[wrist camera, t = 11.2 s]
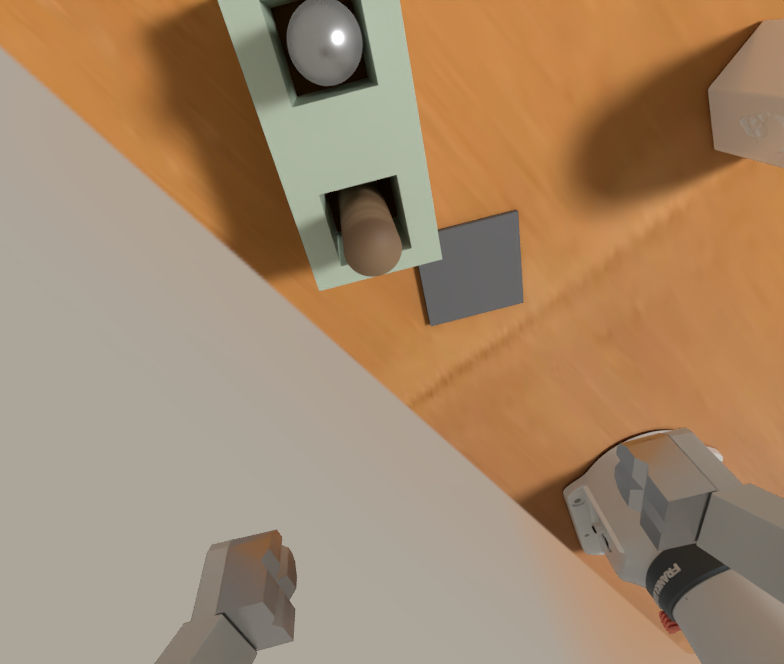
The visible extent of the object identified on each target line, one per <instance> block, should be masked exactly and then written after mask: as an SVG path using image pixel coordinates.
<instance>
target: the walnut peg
mask: <svg viewBox="0 0 784 664" xmlns="http://www.w3.org/2000/svg"><path fill="white" fill-rule="evenodd" d="M338 201H339V211H340V220H341V230H342V239H343V249H344V256H345V259H346V262H347V263H348V265H349V266H350V267H351V268H352V269H353V270H354V271H355V272H357V273H359V274H361V275H364V276H369V277H375V276H380V275H383V274H386V273H387V272H389V271H391V270H392V269H393V268H394V267H395V266H396V265H397V263H398V261H399V260H400V257H401V254H402V243H401V240H400V237H399V234H398V232H397V229H396V227H395V224H394V222H393V219H392V217H391V214H390V212H389V209H388V207H387V204H386V202H385V199H384V197H383V194H382V192H381V189H380V187H379V185H378V183H377V181H376V180H375V181H371V182H367V183H363V184H359V185H356V186H352V187H348V188H344V189H340V190H338Z"/></svg>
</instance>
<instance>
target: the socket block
mask: <svg viewBox="0 0 784 664" xmlns="http://www.w3.org/2000/svg"><path fill="white" fill-rule="evenodd" d="M295 1H299V0H218V3H219V6H220V9H221V12H222V15H223V17H224V20H225V23H226V26H227V29H228V32H229V35H230V37H231V40H232V43H233V46H234V49H235V52H236V54H237V57H238V60H239V63H240V66H241V69H242V72H243V74H244V77H245V80H246V83H247V86H248V89H249V92H250V94H251V97H252V100H253V103H254V106H255V109H256V112H257V114H258V117H259V120H260V123H261V126H262V129H263V131H264V134H265V137H266V140H267V143H268V146H269V149H270V151H271V154H272V157H273V160H274V163H275V166H276V169H277V171H278V174H279V177H280V180H281V183H282V186H283V189H284V191H285V194H286V197H287V200H288V203H289V206H290V208H291V211H292V214H293V217H294V220H295V223H296V226H297V228H298V231H299V234H300V237H301V240H302V243H303V246H304V248H305V251H306V254H307V257H308V260H309V263H310V266H311V268H312V271H313V274H314V277H315V280H316V283H317V285H318V288H319V291H321V290H325V289H329V288H333V287H337V286H341V285H345V284H349V283H352V282H356V281H360V280H364V279H368V278H372V277H369V276H364V275H361V274H359V273H357V272H355V271H354V270H353V269H352V268H351V267H350V266H349V265H348V263H347V262H346V259H345V256H344V249H343V239H342V231H341V232H338V231H337V228H336V224H335V221H334V218H333V214H332V211H331V208H330V204H329V201H328V198H327V194H326V193H329V192H332V191H336V190H340V189H344V188H348V187H352V186H356V185H359V184H363V183H367V182H371V181H375V180H379V179H383V178H386V177H389V178H390V182H391V187H392V192H393V196H394V201H395V206H396V210H397V215H398V217H395V218H392V219H393V222H394V224H395V227H396V229H397V232H398V234H399V237H400V240H401V243H402V254H401V257H400V260H399V261H398V263H397V265H396V266H395V267H394V268H393V269H392V270H391V271H389V272H387V273H391V272H395V271H399V270H403V269H407V268H411V267H415V266H418V265H422V264H426V263H430V262H434V261H438V260H442V254H441V247H440V241H439V235H438V229H437V223H436V217H435V211H434V205H433V199H432V193H431V187H430V181H429V175H428V169H427V163H426V157H425V151H424V145H423V139H422V133H421V127H420V121H419V114H418V108H417V102H416V96H415V90H414V84H413V78H412V72H411V66H410V60H409V54H408V48H407V42H406V36H405V30H404V24H403V18H402V12H401V6H400V0H351V1H352V5H353V10H354V15H355V19H356V20H357V22H358V25H359V27H360V31H361V35H362V44H363V45H362V52H363V57H364V61H365V66H366V71H367V75H368V78H365V79H361V80H358V81H354V82H350V83H346V84H342V85H338V86H334V87H331V88H327V89H323V90H319V91H315V92H311V93H308V94H304V95H300V96H297V94H296V90H295V87H294V84H293V80H292V77H291V74H290V70H289V67H288V64H287V60H286V57H285V54H284V50H283V47H282V44H281V40H280V37H279V34H278V30H277V27H276V24H275V20H274V17H273V13H272V10H271V8H272V7H276V6H280V5H284V4H288V3H291V2H295ZM387 273H386V274H387ZM375 277H376V276H375Z"/></svg>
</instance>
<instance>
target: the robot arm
mask: <svg viewBox="0 0 784 664" xmlns="http://www.w3.org/2000/svg"><path fill="white" fill-rule="evenodd" d="M722 461H723V456H722V455H721V454H720V453H719V451H718V450H717V449H715V448H712V447H707V446H705V445H704V443H703V442H702V441H701V440H700V439H699V438H698V437H697V436H696V435H695V434H694V433H693V432H692V431H691V430H689V429H687V428H679V429H675V430H662V431H655V432H650V433H646V434H642V435H639V436H637V437H634V438H631V439H629V440H627V441H625V442H623V443H620V444H619V445H617V446H616V447H614V448H612V449H611V450H609V451H608V452H607V453H605V454H604V455H603V456H602V457H600V458H599V459H598V460H597V461H596V462H595V463H594V464H593V465H592V467H591V468H590V469H589V470H588V471H587V472H586V473H585V474H584V475H583V476H582V477H580V478H579V479H577V480H576V481H574V482H573V483H571V484H570V485H569V486H567V487H566V488H565V489H564V491H563V495H564V498H565V501H566V504H567V507H568V510H569V513H570V516H571V519H572V522H573V525H574V528H575V531H576V534H577V537H578V539H579V542H580V545H581V547H582V549H583V550H584V552H585V553H586V554H590V555H606V557H607V559H608V560H609V562H610V564H611V566H612V567H613V569H614V571H615V572H616V574H617V575H618V577H619V578H620V579H622V580H624V581H626V582H630V583H633V584H636V585H639V586H642V587H644V588H646V589H647V591H648V592H649V593H650V595H651V596H652V597H653V598H654V601H655V602H656V604H657V605H658V606H659V608H660V609H662V610H663V611H660V612H659V616H660V618H661V622H662V623H663V626H664V628H665V627H666V628H665V629H666V631H669V633H670V634H673V633H675V632H677V631H679V630H682V632H683V634H684V635H685V637H686V639H687V640H688V642H689V643H690V645H691V647H692V648H693V650H694V652H695V653H696V655H697V656H698V658H699V660H700V661H701V663H702V664H784V498H782V497H779V496H777V495H775V494H773V493H771V492H768V491H766V490H764V489H762V488H760V487H757V486H755V485H753V484H751V483H750V484H744V485H743V484H742V483H741V482H740V481H739V480H738V479H737V478H736V477H735V476H734V474H733V473H732V472H731V471H730V470H729V469H728V468H727V467H726V466H725V465H724V464H723V463H722ZM296 582H297V574H296V566H295V560H294V557H293V554H292V553H291V551H290V549H289V548H288V547H285V546H283V545H282V536H281V535H280V533H279V532H278V531H277V530H273V531H269V532H264V533H260V534H256V535H252V536H247V537H243V538H239V539H233V540H229V541H225V542H222V543H218V544H213V545H211V547H210V549H209V551H208V552H207V555H206V559H205V563H204V567H203V572H202V576H201V580H200V584H199V588H198V593H197V597H196V601H195V605H194V610H193V614H192V618H191V621H190V622H186V623H184V624H183V626H182V627H181V628H180V630H179V631H178V632H177V634H176V635H175V637H174V638H173V639H172V641H171V642H170V644H169V645H168V646H167V647H166V649H165V650H164V652H163V653H162V654H161V656H160V657H159V658H158V660H157V661H156V663H155V664H252V663H253V661H254V659H255V657H256V655H257V652H256V651H258V650H262V649H265V648H269V647H273V646H277V645H280V644H284V643H287V642H291V641H293V637H294V621H295V608H294V607H293V605H292V604H291V602H290V601H289V600H290V598H291V597H292V595H293V593H294V591H295V590H296Z"/></svg>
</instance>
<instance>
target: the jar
mask: <svg viewBox="0 0 784 664" xmlns="http://www.w3.org/2000/svg"><path fill="white" fill-rule="evenodd" d="M708 98H709V107H710V116H711V125H712V134H713V144H714V149H715V150H717V151H721V152H724V153H728V154H732V155H736V156H739V157H743V158H747V159H751V160H754V161H758V162H762V163H766V164H769V165H773V166H777V167H781V168H784V19H770V20H765V21H763V22H762V23H761V24H760V25H759V26H758V28H757V29H756V30H755V31H754V33H753V34H752V35H751V36H750V38H749V39H748V40H747V41H746V42H745V44H744V45H743V46H742V47H741V49H740V50H739V51H738V52H737V54H736V55H735V56H734V57H733V58H732V60H731V61H730V62H729V63H728V65H727V66H726V67H725V68H724V69H723V71H722V72H721V73H720V74H719V76H718V77H717V78H716V79H715V80H714V82H713V83H712V84H711V85H710V87H709V88H708Z"/></svg>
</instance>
